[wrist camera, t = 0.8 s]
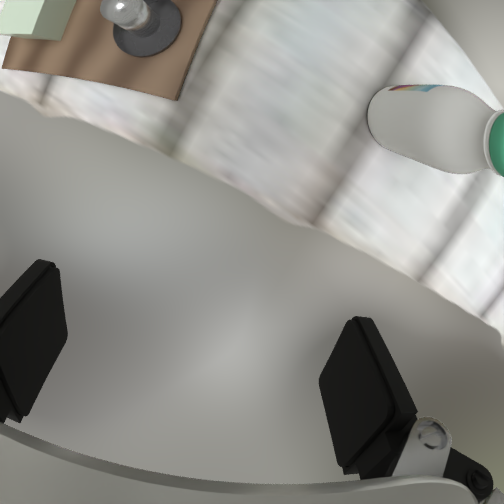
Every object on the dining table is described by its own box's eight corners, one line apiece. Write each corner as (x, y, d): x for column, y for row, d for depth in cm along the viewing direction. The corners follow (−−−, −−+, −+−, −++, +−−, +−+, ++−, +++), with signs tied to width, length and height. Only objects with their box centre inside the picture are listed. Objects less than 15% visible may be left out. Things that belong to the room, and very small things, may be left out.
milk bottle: (402, 163, 34) (522, 228, 16) (352, 125, 32) (468, 159, 14) (433, 113, 31) (564, 144, 13) (386, 72, 29) (516, 63, 11)
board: (8, 68, 26) (-47, 69, 16) (45, -31, 20) (-1, -53, 11) (177, 100, 30) (150, 99, 21) (224, -14, 25) (218, -56, 15)
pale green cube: (23, 38, 23) (-7, 33, 18) (41, -7, 21) (13, -18, 16) (60, 40, 24) (31, 34, 19) (79, -7, 22) (53, -21, 17)
